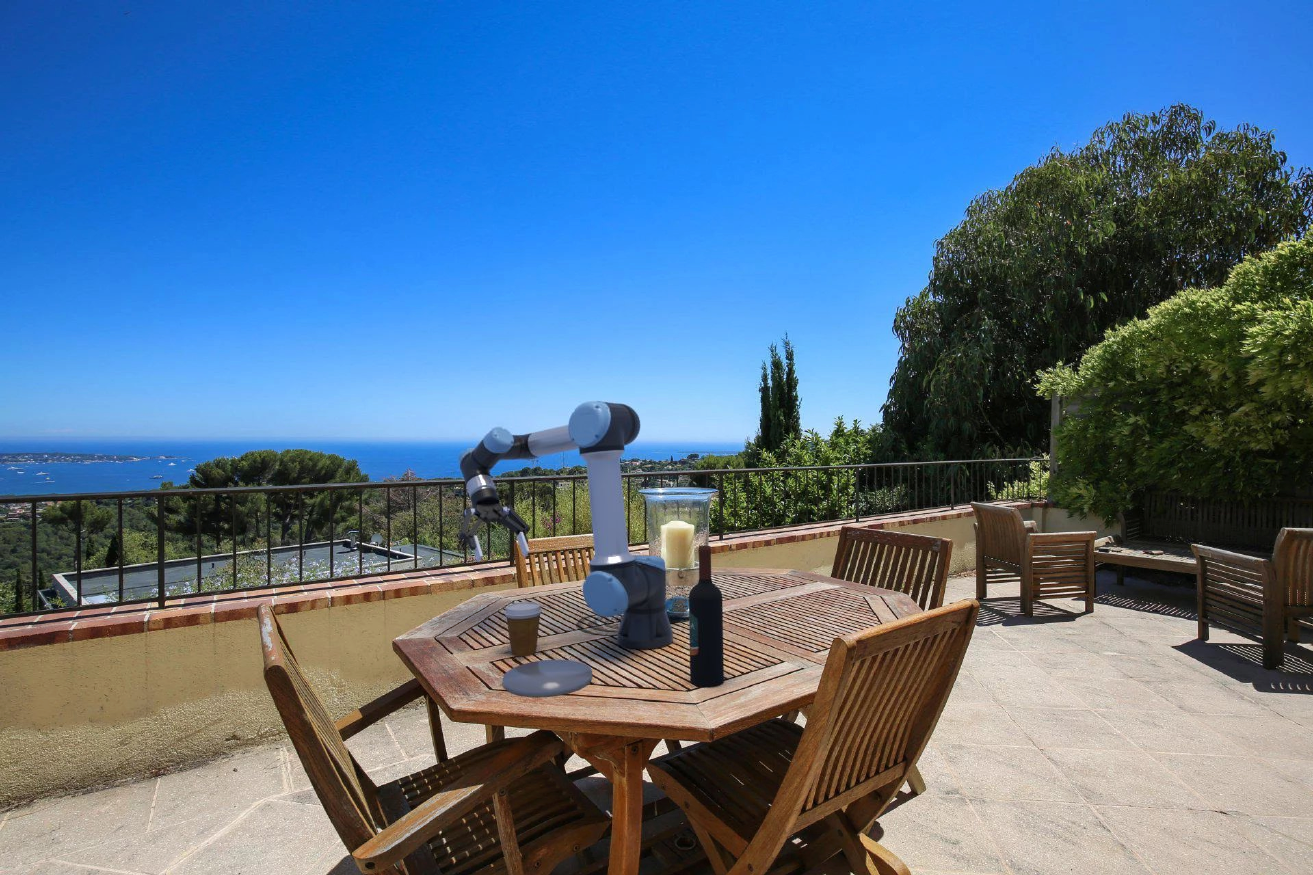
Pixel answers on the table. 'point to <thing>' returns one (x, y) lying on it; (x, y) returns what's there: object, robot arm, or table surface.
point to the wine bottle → (706, 627)
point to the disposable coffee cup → (523, 627)
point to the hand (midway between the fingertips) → (503, 556)
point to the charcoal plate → (547, 678)
